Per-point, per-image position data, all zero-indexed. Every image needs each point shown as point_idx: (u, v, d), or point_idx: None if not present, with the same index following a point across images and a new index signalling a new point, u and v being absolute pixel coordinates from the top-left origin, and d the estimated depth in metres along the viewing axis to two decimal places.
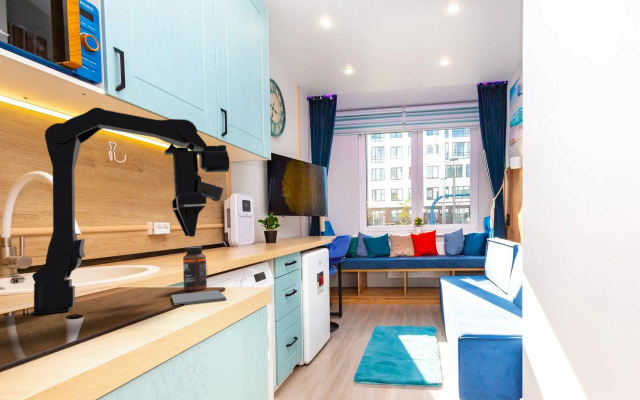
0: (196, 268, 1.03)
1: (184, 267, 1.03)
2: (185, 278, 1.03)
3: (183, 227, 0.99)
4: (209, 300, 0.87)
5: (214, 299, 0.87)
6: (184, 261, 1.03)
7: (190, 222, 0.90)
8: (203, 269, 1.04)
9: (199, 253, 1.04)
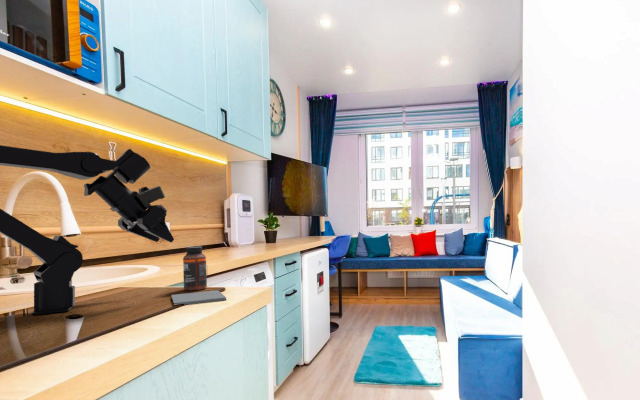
0: (196, 268, 1.03)
1: (184, 267, 1.03)
2: (185, 278, 1.03)
3: (149, 237, 1.02)
4: (209, 300, 0.87)
5: (214, 299, 0.87)
6: (184, 261, 1.03)
7: (164, 232, 0.95)
8: (203, 269, 1.04)
9: (199, 253, 1.04)
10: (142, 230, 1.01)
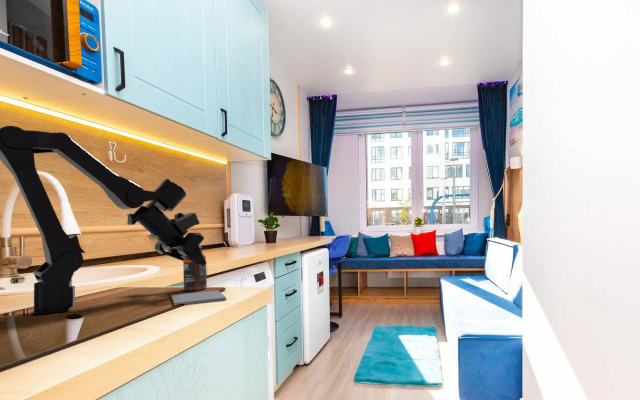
0: (196, 268, 1.03)
1: (184, 267, 1.03)
2: (185, 278, 1.03)
3: None
4: (209, 300, 0.87)
5: (214, 299, 0.87)
6: (184, 261, 1.03)
7: (198, 257, 1.02)
8: (203, 269, 1.04)
9: None
10: (180, 254, 1.06)
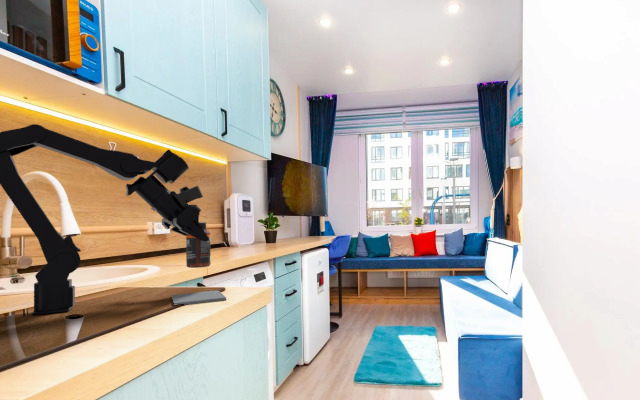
0: (197, 245, 0.97)
1: (186, 243, 0.99)
2: (187, 254, 0.98)
3: None
4: (209, 300, 0.87)
5: (214, 299, 0.87)
6: (186, 237, 0.99)
7: (198, 232, 0.96)
8: (205, 246, 0.98)
9: None
10: None
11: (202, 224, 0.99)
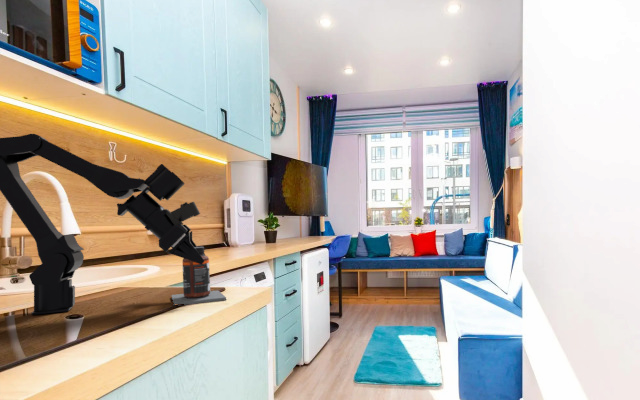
0: (190, 273, 0.88)
1: None
2: (183, 283, 0.90)
3: None
4: (209, 300, 0.87)
5: (214, 299, 0.87)
6: None
7: (190, 254, 0.86)
8: (201, 274, 0.89)
9: None
10: None
11: (197, 249, 0.90)
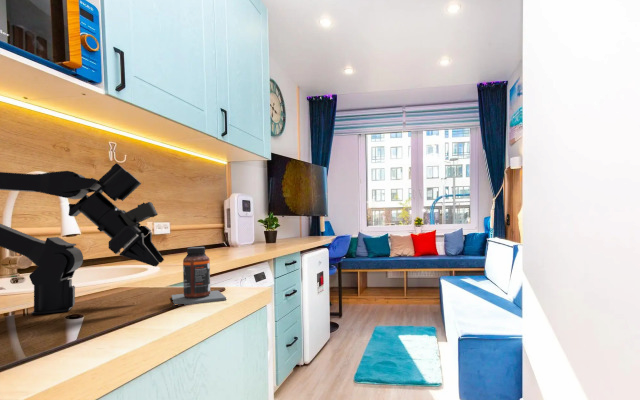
0: (191, 273, 0.88)
1: None
2: (183, 283, 0.90)
3: None
4: (209, 300, 0.87)
5: (214, 299, 0.87)
6: (183, 263, 0.91)
7: (143, 256, 0.83)
8: (201, 274, 0.89)
9: (197, 255, 0.90)
10: None
11: (198, 250, 0.90)
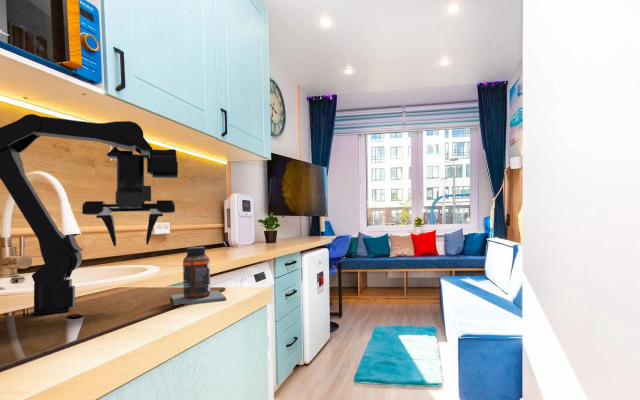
0: (191, 273, 0.88)
1: None
2: (183, 283, 0.90)
3: None
4: (209, 300, 0.87)
5: (214, 299, 0.87)
6: (183, 263, 0.91)
7: None
8: (201, 274, 0.89)
9: (197, 255, 0.90)
10: None
11: (198, 250, 0.90)
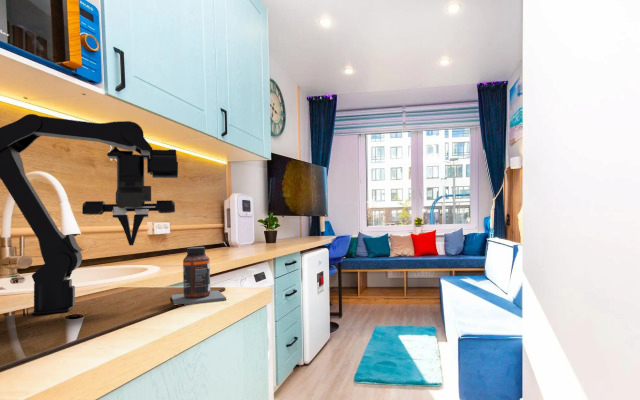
0: (191, 273, 0.88)
1: None
2: (183, 283, 0.90)
3: None
4: (209, 300, 0.87)
5: (214, 299, 0.87)
6: (183, 263, 0.91)
7: None
8: (201, 274, 0.89)
9: (197, 255, 0.90)
10: None
11: (198, 250, 0.90)
